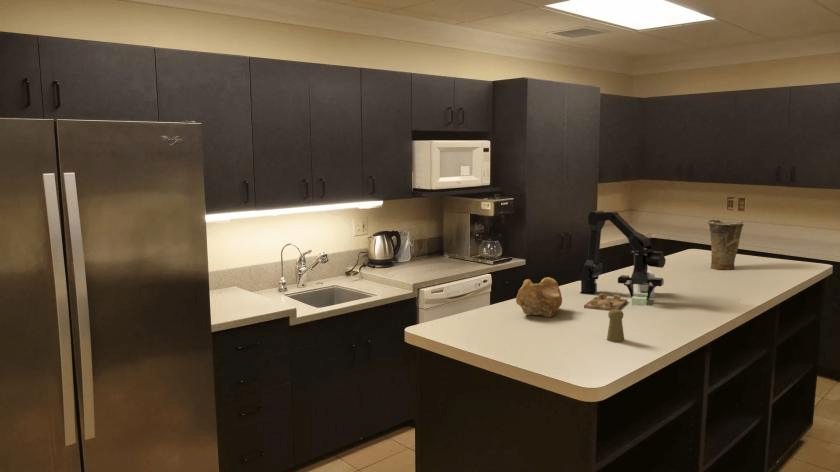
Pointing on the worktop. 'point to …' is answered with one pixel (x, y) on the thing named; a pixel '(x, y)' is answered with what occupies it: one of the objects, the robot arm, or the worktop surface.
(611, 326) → the olive tapered pillar
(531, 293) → the rough brown rock
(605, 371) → the worktop surface
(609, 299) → the walnut plate
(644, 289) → the light bulb box
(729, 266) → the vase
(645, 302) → the pale green board
